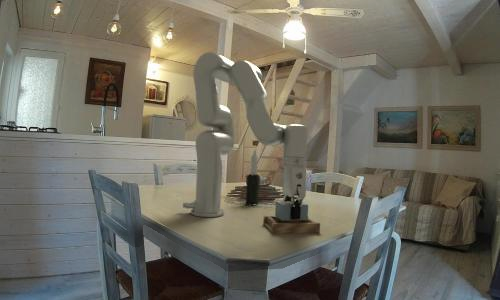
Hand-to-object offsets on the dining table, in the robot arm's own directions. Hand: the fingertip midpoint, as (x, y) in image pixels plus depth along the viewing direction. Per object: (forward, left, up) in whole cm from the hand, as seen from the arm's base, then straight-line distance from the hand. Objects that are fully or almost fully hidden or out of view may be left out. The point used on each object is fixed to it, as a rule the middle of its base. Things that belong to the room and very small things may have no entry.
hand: (291, 215), depth 98 cm
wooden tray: (0, 0, -4) cm, 4 cm away
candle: (-4, +39, -4) cm, 39 cm away
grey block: (0, 0, -1) cm, 1 cm away
